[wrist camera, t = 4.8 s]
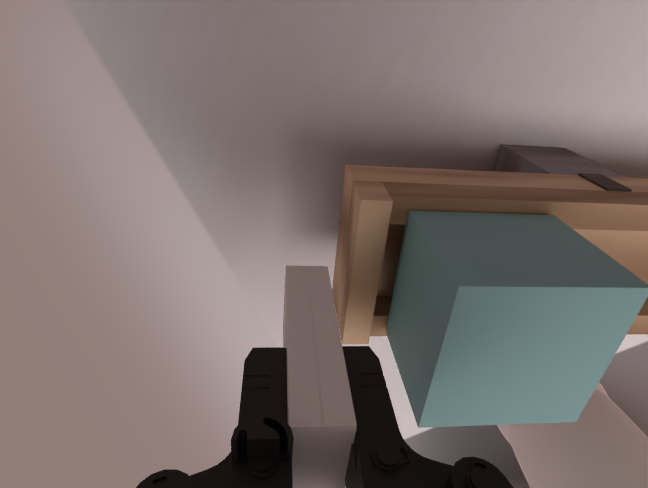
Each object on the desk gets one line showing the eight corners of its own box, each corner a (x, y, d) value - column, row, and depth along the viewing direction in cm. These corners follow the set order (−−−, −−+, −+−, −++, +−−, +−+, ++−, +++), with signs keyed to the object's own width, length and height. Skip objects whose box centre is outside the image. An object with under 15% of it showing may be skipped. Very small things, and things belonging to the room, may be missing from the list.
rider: (399, 195, 17) (459, 286, 11) (533, 200, 18) (652, 288, 12) (378, 309, 20) (418, 427, 14) (494, 310, 21) (575, 422, 15)
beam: (333, 133, 23) (375, 228, 13) (712, 154, 26) (988, 244, 16) (323, 246, 26) (350, 390, 16) (657, 252, 29) (855, 378, 19)
